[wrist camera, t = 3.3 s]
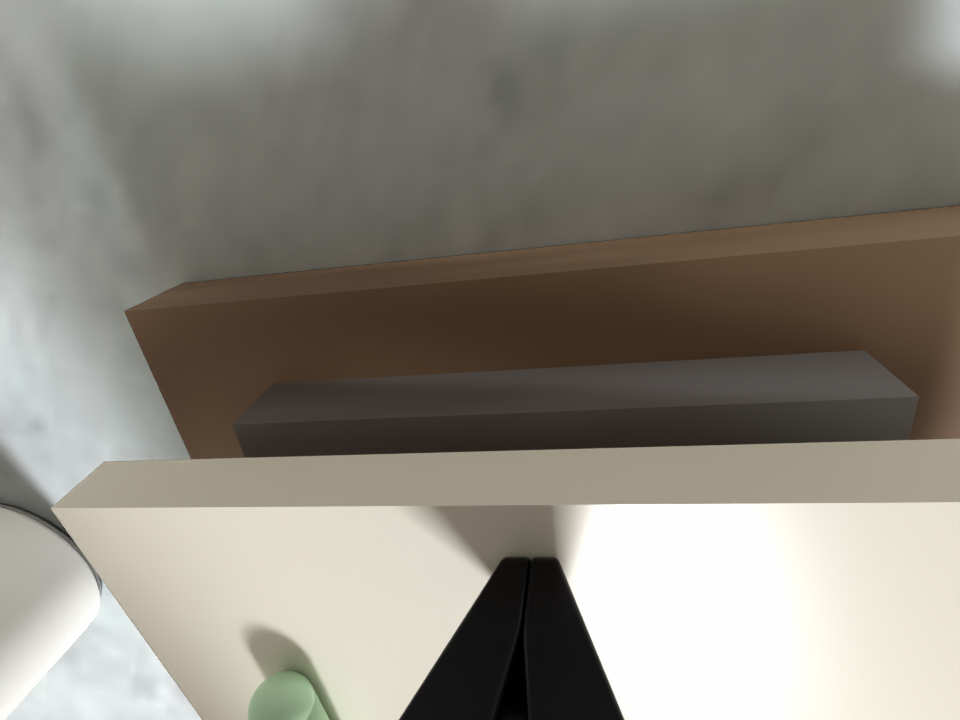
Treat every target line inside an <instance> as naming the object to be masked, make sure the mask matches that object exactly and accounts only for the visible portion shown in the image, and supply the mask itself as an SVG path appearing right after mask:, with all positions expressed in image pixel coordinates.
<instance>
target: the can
mask: <svg viewBox="0 0 960 720" xmlns="http://www.w3.org/2000/svg"><path fill="white" fill-rule="evenodd" d="M100 597H101V583H100V579H99V576H98V574H97V572H96V571H95V570H94V568H93V567H92V565H91V564H90V563H89V561H88V560H87V559H86V557H85V556H84V554H83V553H82V552H81V550H80V549H79V547H78V546H77V545H76V543H75V542H74V541H73V540H72V539H70V538H69V537H68V536H67V535H66V534H64V533H63V532H62V531H60V530H59V529H58V528H56V527H55V526H53V525H52V524H50V523H48V522H47V521H45V520H43V519H41V518H39V517H38V516H35V515H33V514H31V513H29V512H26V511H24V510H21V509H18V508H15V507H12V506H8V505H3V504H0V720H5V719H6V718H7V717H8V715H9V714H10V713H11V712H12V711H13V710H14V709H15V708H16V707H17V705H18V704H19V703H20V702H21V701H22V700H23V699H24V698H25V697H26V695H27V694H28V693H29V692H30V691H31V690H32V689H33V688H34V687H35V685H36V684H37V683H38V682H39V681H40V680H41V679H42V678H43V676H44V675H45V674H46V673H47V672H48V671H49V670H50V669H51V668H52V666H53V665H54V664H55V663H56V662H57V661H58V660H59V659H60V658H61V656H62V655H63V654H64V653H65V652H66V651H67V650H68V649H69V647H70V646H71V645H72V644H73V643H74V642H75V641H76V640H77V638H78V637H79V636H80V635H81V634H82V633H83V632H84V630H85V629H86V628H87V627H88V626H89V625H90V624H91V622H92V621H93V620H94V619H95V617H96V616H97V614H98V612H99V608H100Z"/></svg>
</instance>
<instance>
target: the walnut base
mask: <svg viewBox="0 0 960 720" xmlns="http://www.w3.org/2000/svg"><path fill="white" fill-rule="evenodd" d="M124 312H125V314H126V316H127V318H128V321H129V323H130V325H131V327H132V329H133V332H134V334H135V336H136V338H137V340H138V343H139V345H140V347H141V349H142V351H143V354H144V356H145V358H146V360H147V363H148V365H149V367H150V369H151V371H152V374H153V376H154V378H155V380H156V382H157V385H158V387H159V389H160V391H161V393H162V396H163V398H164V400H165V402H166V404H167V407H168V409H169V411H170V413H171V415H172V418H173V420H174V422H175V424H176V426H177V429H178V431H179V433H180V435H181V437H182V440H183V442H184V444H185V446H186V448H187V451H188V453H189V455H190V457H191V459H220V458H257V457H295V456H332V455H370V454H407V453H444V452H482V451H519V450H557V449H594V448H631V447H669V446H706V445H743V444H781V443H818V442H856V441H893V440H930V439H960V205H959V206H949V207H939V208H929V209H919V210H909V211H899V212H889V213H879V214H869V215H859V216H849V217H839V218H829V219H819V220H809V221H799V222H789V223H779V224H769V225H759V226H749V227H739V228H729V229H719V230H709V231H699V232H689V233H679V234H669V235H659V236H649V237H639V238H629V239H619V240H609V241H599V242H589V243H579V244H569V245H559V246H549V247H539V248H529V249H519V250H509V251H499V252H489V253H479V254H469V255H459V256H449V257H439V258H429V259H419V260H409V261H399V262H389V263H379V264H369V265H359V266H349V267H339V268H329V269H319V270H309V271H299V272H289V273H279V274H269V275H259V276H249V277H239V278H229V279H219V280H209V281H199V282H189V283H182V284H180V285H178V286H176V287H174V288H171V289H169V290H167V291H165V292H163V293H161V294H159V295H157V296H155V297H153V298H151V299H149V300H147V301H145V302H143V303H141V304H138V305H136V306H134V307H132V308H130V309H128V310H126V311H124Z"/></svg>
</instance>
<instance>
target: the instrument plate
mask: <svg viewBox="0 0 960 720" xmlns="http://www.w3.org/2000/svg"><path fill="white" fill-rule="evenodd" d="M51 510H52V511H53V513H54V514H55V515H56V517H57V518H58V519H59V521H60V522H61V524H62V525H63V526H64V528H65V529H66V531H67V532H68V533H69V535H70V536H71V538H72V539H73V540H74V542H75V543H76V545H77V546H78V547H79V549H80V550H81V552H82V553H83V554H84V556H85V557H86V559H87V560H88V561H89V563H90V564H91V565H92V567H93V568H94V570H95V571H96V572H97V574H98V575H99V577H100V578H101V579H102V581H103V582H104V584H105V585H106V586H107V588H108V589H109V591H110V592H111V593H112V595H113V596H114V598H115V599H116V600H117V602H118V603H119V605H120V606H121V607H122V609H123V610H124V611H125V613H126V614H127V616H128V617H129V618H130V620H131V621H132V623H133V624H134V625H135V627H136V628H137V630H138V631H139V632H140V634H141V635H142V637H143V638H144V639H145V641H146V642H147V644H148V645H149V646H150V648H151V649H152V651H153V652H154V653H155V655H156V656H157V657H158V659H159V660H160V662H161V663H162V664H163V666H164V667H165V669H166V670H167V671H168V673H169V674H170V676H171V677H172V678H173V680H174V681H175V683H176V684H177V685H178V687H179V688H180V690H181V691H182V692H183V694H184V695H185V697H186V698H187V699H188V701H189V702H190V703H191V705H192V706H193V708H194V709H195V710H196V712H197V713H198V715H199V716H200V717H201V719H202V720H399V718H400V717H401V715H402V714H403V712H404V711H405V709H406V708H407V706H408V704H409V703H410V701H411V700H412V698H413V697H414V695H415V694H416V692H417V690H418V689H419V687H420V686H421V684H422V683H423V681H424V680H425V678H426V676H427V675H428V673H429V672H430V670H431V669H432V667H433V666H434V664H435V662H436V661H437V659H438V658H439V656H440V655H441V653H442V652H443V650H444V648H445V647H446V645H447V644H448V642H449V641H450V639H451V638H452V636H453V634H454V633H455V631H456V630H457V628H458V627H459V625H460V623H461V622H462V620H463V619H464V617H465V616H466V614H467V613H468V611H469V609H470V608H471V606H472V605H473V603H474V602H475V600H476V599H477V597H478V595H479V594H480V592H481V591H482V589H483V588H484V586H485V585H486V583H487V581H488V580H489V578H490V577H491V575H492V574H493V572H494V571H495V569H496V567H497V566H498V564H499V563H500V561H501V560H502V559H503V558H505V557H527V558H529V559H530V561H531V560H532V558H534V557H555V558H557V559H558V560H559V562H560V564H561V566H562V569H563V571H564V573H565V576H566V578H567V581H568V583H569V586H570V588H571V590H572V593H573V595H574V598H575V600H576V603H577V605H578V607H579V610H580V612H581V615H582V617H583V620H584V622H585V624H586V627H587V629H588V632H589V634H590V637H591V639H592V641H593V644H594V646H595V649H596V651H597V654H598V656H599V658H600V661H601V663H602V666H603V668H604V671H605V673H606V676H607V678H608V680H609V683H610V685H611V688H612V690H613V693H614V695H615V697H616V700H617V702H618V705H619V707H620V710H621V712H622V714H623V717H624V719H625V720H960V439H930V440H893V441H856V442H818V443H781V444H743V445H706V446H669V447H631V448H594V449H557V450H519V451H482V452H444V453H407V454H370V455H332V456H295V457H257V458H220V459H183V460H145V461H108V462H103V463H102V464H101V465H100V466H99V467H98V468H96V469H95V470H94V471H93V472H92V473H91V474H89V475H88V476H87V477H86V478H85V479H84V480H83V481H81V482H80V483H79V484H78V485H77V486H76V487H75V488H73V489H72V490H71V491H70V492H69V493H68V494H67V495H65V496H64V497H63V498H62V499H61V500H60V501H58V502H57V503H56V504H55V505H54V506H53V507H52V508H51Z"/></svg>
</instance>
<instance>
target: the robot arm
mask: <svg viewBox="0 0 960 720" xmlns="http://www.w3.org/2000/svg"><path fill="white" fill-rule="evenodd" d="M399 720H625V719H624V717H623V714H622V712H621V710H620V707H619V705H618V702H617V700H616V697H615V695H614V693H613V690H612V688H611V685H610V683H609V680H608V678H607V676H606V673H605V671H604V668H603V666H602V663H601V661H600V658H599V656H598V654H597V651H596V649H595V646H594V644H593V641H592V639H591V637H590V634H589V632H588V629H587V627H586V624H585V622H584V620H583V617H582V615H581V612H580V610H579V607H578V605H577V603H576V600H575V598H574V595H573V593H572V590H571V588H570V586H569V583H568V581H567V578H566V576H565V573H564V571H563V569H562V566H561V564H560V562H559V560H558V559H557V558H555V557H534V558H532V560H531V561H530V559H529V558H527V557H505V558H503V559H502V560H501V561H500V563H499V564H498V566H497V567H496V569H495V571H494V572H493V574H492V575H491V577H490V578H489V580H488V581H487V583H486V585H485V586H484V588H483V589H482V591H481V592H480V594H479V595H478V597H477V599H476V600H475V602H474V603H473V605H472V606H471V608H470V609H469V611H468V613H467V614H466V616H465V617H464V619H463V620H462V622H461V623H460V625H459V627H458V628H457V630H456V631H455V633H454V634H453V636H452V638H451V639H450V641H449V642H448V644H447V645H446V647H445V648H444V650H443V652H442V653H441V655H440V656H439V658H438V659H437V661H436V662H435V664H434V666H433V667H432V669H431V670H430V672H429V673H428V675H427V676H426V678H425V680H424V681H423V683H422V684H421V686H420V687H419V689H418V690H417V692H416V694H415V695H414V697H413V698H412V700H411V701H410V703H409V704H408V706H407V708H406V709H405V711H404V712H403V714H402V715H401V717H400V718H399Z"/></svg>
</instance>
